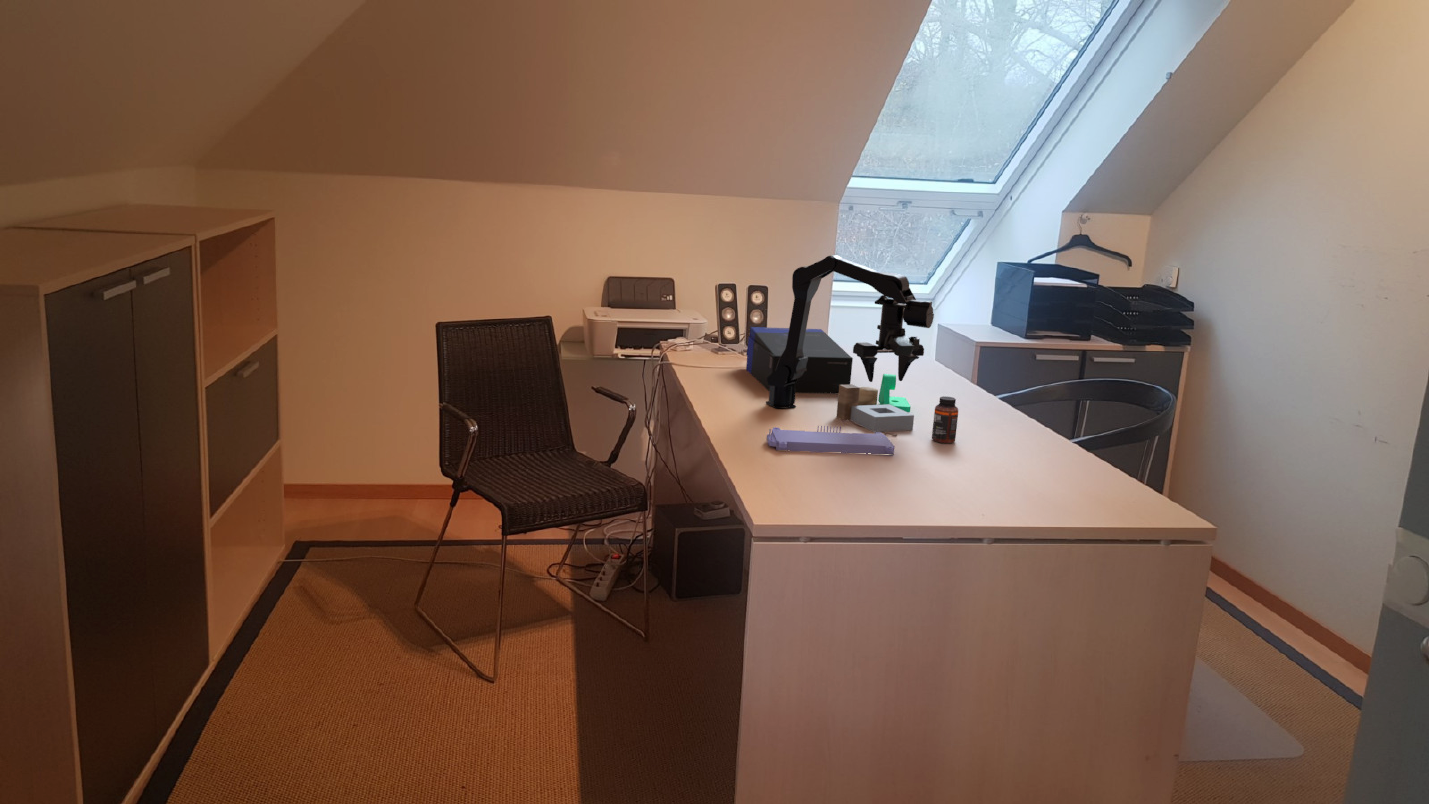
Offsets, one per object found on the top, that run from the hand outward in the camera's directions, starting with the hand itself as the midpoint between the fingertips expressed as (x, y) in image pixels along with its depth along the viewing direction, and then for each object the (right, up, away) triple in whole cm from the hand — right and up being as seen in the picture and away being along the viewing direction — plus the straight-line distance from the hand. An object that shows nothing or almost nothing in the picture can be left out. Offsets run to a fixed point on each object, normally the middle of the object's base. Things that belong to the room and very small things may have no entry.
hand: (885, 381), depth 278 cm
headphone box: (-20, +1, +52) cm, 56 cm away
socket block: (-1, -12, +3) cm, 12 cm away
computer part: (-18, -17, -21) cm, 32 cm away
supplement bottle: (+13, -16, -9) cm, 22 cm away
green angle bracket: (+6, -8, +22) cm, 24 cm away
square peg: (-9, -10, +8) cm, 16 cm away
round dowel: (-2, -8, +19) cm, 21 cm away
